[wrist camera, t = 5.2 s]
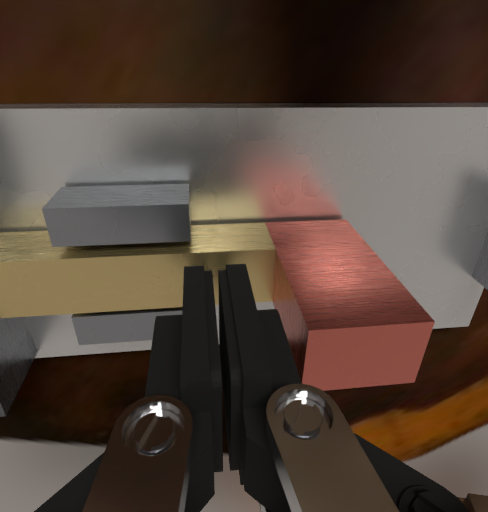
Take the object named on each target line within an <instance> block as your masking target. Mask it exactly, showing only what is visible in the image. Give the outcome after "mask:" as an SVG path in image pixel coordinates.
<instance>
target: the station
mask: <svg viewBox="0 0 488 512" xmlns="http://www.w3.org/2000/svg"><path fill="white" fill-rule="evenodd" d="M341 219H346V220H347V221H348V222H349V223H350V224H351V226H352V227H353V228H354V229H355V230H356V231H357V233H358V234H359V235H360V236H361V237H362V238H363V239H364V241H365V242H366V243H367V244H368V245H369V246H370V248H371V249H372V250H373V251H374V252H375V253H376V254H377V256H378V257H379V258H380V259H381V260H382V261H383V262H384V264H385V265H386V266H387V267H388V268H389V269H390V271H391V272H392V273H393V274H394V275H395V276H396V277H397V279H398V280H399V281H400V282H401V283H402V284H403V285H404V287H405V288H406V289H407V290H408V291H409V292H410V294H411V295H412V296H413V297H414V298H415V299H416V300H417V302H418V303H419V304H420V305H421V306H422V307H423V308H424V310H425V311H426V312H427V313H428V314H429V315H430V317H431V318H432V319H433V320H434V321H435V323H434V326H433V329H437V328H451V327H464V326H469V324H470V321H471V319H472V316H473V314H474V311H475V309H476V306H477V304H478V301H479V299H480V296H481V294H482V291H483V289H484V287H485V288H486V289H487V290H488V103H164V104H0V232H25V231H48V233H49V237H50V241H51V244H52V247H68V246H91V245H115V244H138V243H162V242H185V241H191V225H209V224H236V223H262V222H288V221H315V220H341ZM255 303H256V308H257V310H266V309H275V308H274V305H273V302H272V301H271V302H255ZM215 308H216V319H217V330H218V342H219V305H215ZM182 309H183V307H174V308H158V309H142V310H126V311H110V312H94V313H78V314H61V315H45V316H29V317H13V318H0V417H1V416H6V415H7V413H8V411H9V409H10V407H11V405H12V403H13V401H14V399H15V397H16V395H17V393H18V391H19V389H20V387H21V385H22V383H23V381H24V379H25V377H26V375H27V373H28V371H29V369H30V367H31V365H32V363H33V361H34V359H35V358H44V357H58V356H72V355H85V354H99V353H112V352H126V351H139V350H151V347H152V339H153V332H154V324H155V318H156V316H164V315H181V314H182Z"/></svg>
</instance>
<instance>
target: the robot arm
mask: <svg viewBox="0 0 488 512" xmlns="http://www.w3.org/2000/svg"><path fill="white" fill-rule="evenodd" d="M218 291H219V342H218V330H217V319H216V308H215V296H214V285H213V274H212V270H210V271H204V266H184V281H183V309H182V314H181V315H164V316H156V318H155V324H154V332H153V339H152V347H151V354H150V362H149V369H148V377H147V384H146V392H145V398H142V399H140V400H138V401H136V402H135V403H133V404H131V405H130V406H128V407H127V408H126V409H125V410H124V412H123V413H122V414H121V415H120V416H119V418H118V420H117V422H116V423H115V425H114V428H113V431H112V433H111V436H110V439H109V442H108V444H107V447H106V450H105V452H104V453H103V454H102V455H100V456H99V457H98V458H97V459H96V460H95V461H94V462H92V463H91V464H90V465H89V466H87V467H86V468H85V469H84V470H83V471H82V472H80V473H79V474H78V475H77V476H76V477H74V478H73V479H72V480H71V481H70V482H69V483H67V484H66V485H65V486H64V487H63V488H61V489H60V490H59V491H58V492H57V493H55V494H54V495H53V496H52V497H51V498H50V499H49V500H47V501H46V502H45V503H44V504H42V505H41V506H40V507H39V508H38V509H37V510H35V511H34V512H200V511H201V510H202V509H203V507H204V506H205V505H206V504H207V503H208V501H209V500H210V499H211V498H212V497H213V495H214V494H215V492H214V472H221V471H223V438H222V385H223V396H224V407H225V419H226V430H227V441H228V452H229V463H230V470H239V474H240V483H241V485H244V489H245V491H246V492H247V493H248V494H249V495H251V496H252V497H253V498H254V499H255V500H257V501H258V502H259V504H260V511H261V512H488V496H484V495H477V494H468V495H467V497H466V498H459V497H456V496H455V495H453V494H452V493H451V492H449V491H448V490H447V489H446V488H444V487H443V486H441V485H439V484H438V483H436V482H434V481H433V480H431V479H429V478H428V477H426V476H424V475H423V474H421V473H419V472H418V471H416V470H414V469H413V468H411V467H409V466H408V465H406V464H404V463H403V462H401V461H400V460H398V459H396V458H395V457H393V456H391V455H390V454H388V453H386V452H385V451H383V450H381V449H380V448H378V447H376V446H375V445H373V444H371V443H370V442H368V441H366V440H365V439H363V438H361V437H360V436H358V435H357V434H355V433H353V431H352V430H351V428H350V426H349V424H348V423H347V421H346V419H345V418H344V416H343V414H342V412H341V411H340V409H339V407H338V406H337V404H336V403H335V402H334V400H333V399H332V398H331V397H330V396H329V395H328V394H326V393H325V392H324V391H322V390H321V389H319V388H316V387H314V386H312V385H306V384H302V383H301V380H300V377H299V374H298V370H297V367H296V364H295V361H294V358H293V355H292V352H291V349H290V346H289V342H288V339H287V336H286V333H285V330H284V327H283V324H282V321H281V318H280V314H279V312H278V310H277V309H266V310H257V308H256V303H255V299H254V295H253V291H252V287H251V283H250V279H249V275H248V270H247V266H246V264H227V265H226V270H218ZM219 348H220V353H219ZM220 362H221V364H220ZM221 374H222V379H221Z"/></svg>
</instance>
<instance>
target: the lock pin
mask: <svg viewBox="0 0 488 512" xmlns="http://www.w3.org/2000/svg"><path fill="white" fill-rule="evenodd" d="M227 264H246V266H247V270H248V275H249V279H250V283H251V287H252V291H253V295H254V299H255V302H271V301H272V302H273V305H274V308H275V309H277V310H278V312H279V314H280V318H281V321H282V324H283V327H284V330H285V333H286V336H287V339H288V342H289V346H290V349H291V352H292V355H293V358H294V361H295V364H296V367H297V370H298V374H299V377H300V380H301V383H302V384H306V385H312V386H314V387H316V388H319V389H321V390H322V391H324V390H336V389H347V388H358V387H369V386H380V385H391V384H402V383H413V382H415V379H416V376H417V373H418V370H419V367H420V364H421V361H422V358H423V355H424V353H425V350H426V347H427V344H428V341H429V338H430V335H431V332H432V329H433V326H434V323H435V321H434V320H433V319H432V318H431V317H430V315H429V314H428V313H427V312H426V311H425V310H424V308H423V307H422V306H421V305H420V304H419V303H418V302H417V300H416V299H415V298H414V297H413V296H412V295H411V294H410V292H409V291H408V290H407V289H406V288H405V287H404V285H403V284H402V283H401V282H400V281H399V280H398V279H397V277H396V276H395V275H394V274H393V273H392V272H391V271H390V269H389V268H388V267H387V266H386V265H385V264H384V262H383V261H382V260H381V259H380V258H379V257H378V256H377V254H376V253H375V252H374V251H373V250H372V249H371V248H370V246H369V245H368V244H367V243H366V242H365V241H364V239H363V238H362V237H361V236H360V235H359V234H358V233H357V231H356V230H355V229H354V228H353V227H352V226H351V224H350V223H349V222H348V221H347V220H346V219H341V220H315V221H288V222H262V223H236V224H209V225H191V241H185V242H162V243H138V244H115V245H91V246H68V247H52V244H51V241H50V237H49V233H48V231H25V232H0V318H13V317H29V316H45V315H61V314H78V313H94V312H110V311H126V310H142V309H158V308H174V307H183V281H184V266H204V271H210V270H212V274H213V285H214V296H215V305H219V291H218V270H226V265H227Z"/></svg>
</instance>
